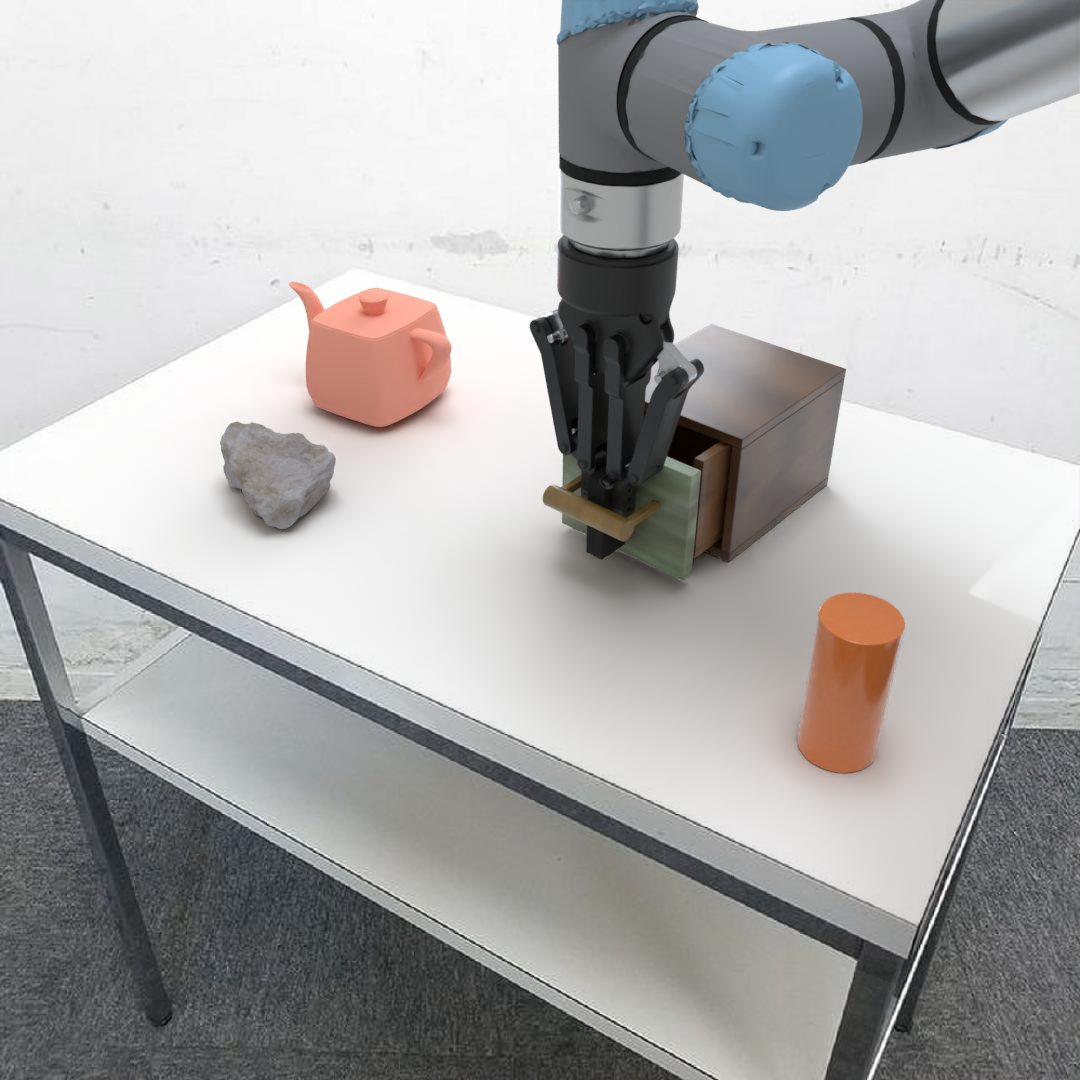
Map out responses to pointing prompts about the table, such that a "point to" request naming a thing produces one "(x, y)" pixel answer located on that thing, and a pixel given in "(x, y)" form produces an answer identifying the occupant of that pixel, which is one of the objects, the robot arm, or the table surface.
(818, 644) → the canister
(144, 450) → the table surface
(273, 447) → the stone
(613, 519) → the drawer
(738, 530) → the cabinet
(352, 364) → the teapot
